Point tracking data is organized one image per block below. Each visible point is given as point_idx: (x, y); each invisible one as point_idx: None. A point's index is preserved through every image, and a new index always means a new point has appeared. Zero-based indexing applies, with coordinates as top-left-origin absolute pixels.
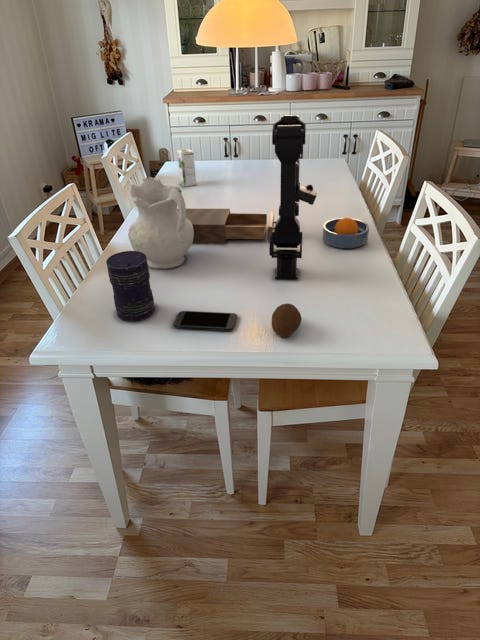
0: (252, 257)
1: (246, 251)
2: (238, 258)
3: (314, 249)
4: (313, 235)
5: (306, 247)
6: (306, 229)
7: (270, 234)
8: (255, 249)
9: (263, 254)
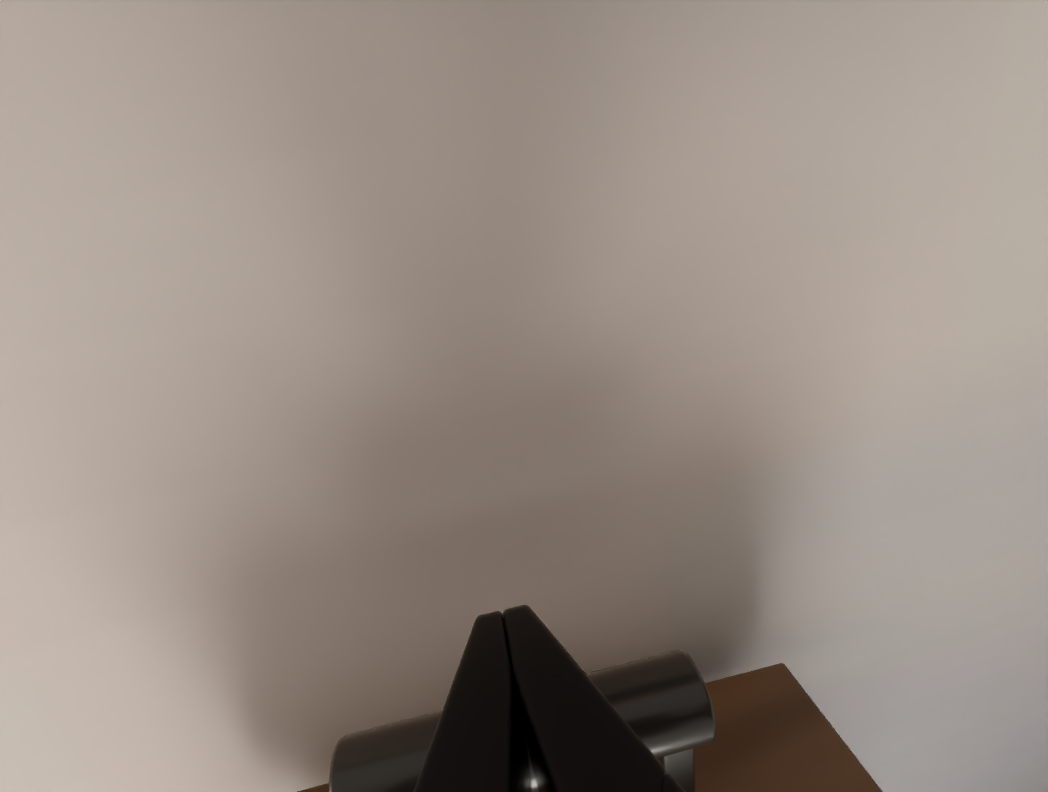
0: (1043, 677)
1: (919, 756)
2: (1035, 754)
3: (992, 15)
4: (387, 104)
5: (903, 175)
6: (113, 301)
7: (849, 761)
8: (888, 713)
9: (1005, 619)
